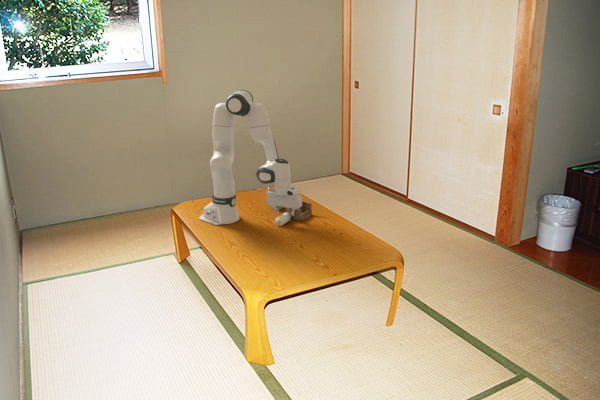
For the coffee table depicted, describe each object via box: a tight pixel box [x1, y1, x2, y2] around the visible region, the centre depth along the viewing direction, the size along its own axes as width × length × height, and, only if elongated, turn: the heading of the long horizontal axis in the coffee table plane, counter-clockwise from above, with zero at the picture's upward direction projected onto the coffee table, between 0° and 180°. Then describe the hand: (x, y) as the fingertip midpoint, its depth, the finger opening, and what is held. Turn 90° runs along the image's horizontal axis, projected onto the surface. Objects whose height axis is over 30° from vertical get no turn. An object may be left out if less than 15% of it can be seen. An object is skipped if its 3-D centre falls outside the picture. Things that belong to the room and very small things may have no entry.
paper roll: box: [274, 211, 291, 227], centre depth 284 cm, size 8×5×5 cm, turn 151°
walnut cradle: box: [285, 200, 313, 223], centre depth 292 cm, size 9×13×7 cm
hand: (284, 214), depth 283 cm, fingers open, 8 cm apart
